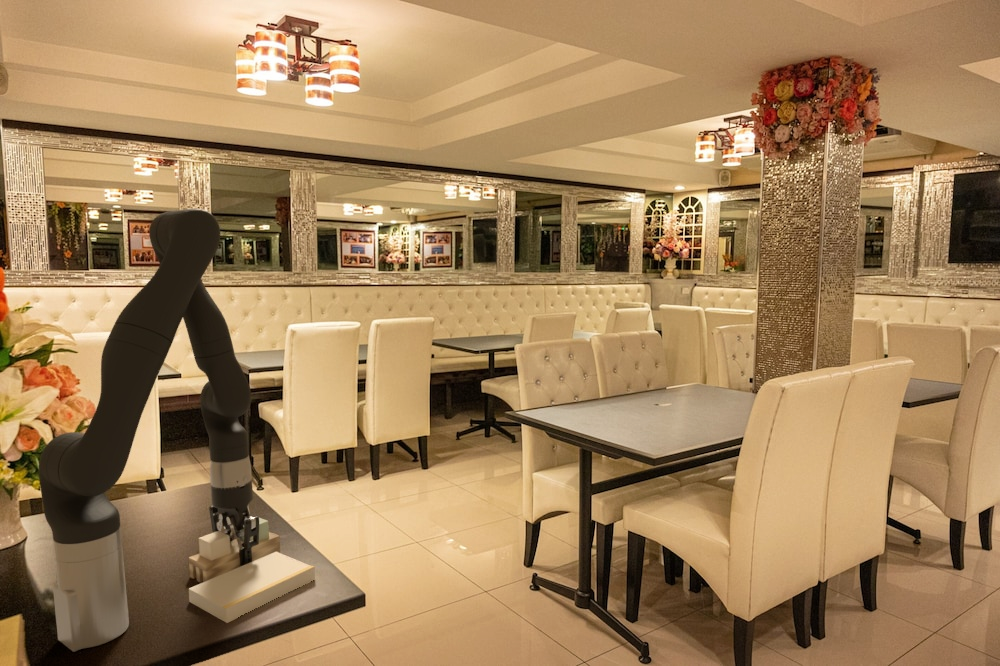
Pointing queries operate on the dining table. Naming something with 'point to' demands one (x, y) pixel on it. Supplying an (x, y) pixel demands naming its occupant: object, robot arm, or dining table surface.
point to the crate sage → (261, 530)
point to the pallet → (230, 559)
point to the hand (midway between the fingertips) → (236, 560)
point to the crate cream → (214, 545)
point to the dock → (250, 586)
